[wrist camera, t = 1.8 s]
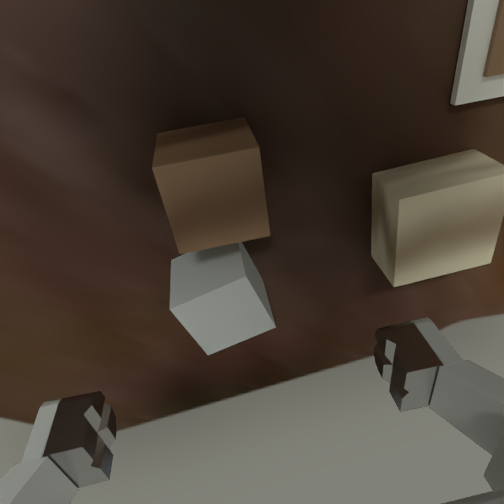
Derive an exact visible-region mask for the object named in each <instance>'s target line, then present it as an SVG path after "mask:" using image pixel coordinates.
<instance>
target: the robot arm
mask: <svg viewBox="0 0 504 504" xmlns="http://www.w3.org/2000/svg"><path fill="white" fill-rule="evenodd" d="M375 338H376V340H377V342H378V344H377V345H376V346H375V347H374V357H375V362H376V365H377V368H378V371H379V373H380V375H381V377H382V378H383V379H385V380H386V381H388V382H389V383H390V390H389V391H390V394H391V395H392V397H393V399H394V401H395V403H396V405H397V407H398V408H399V410H400V412H402V411H407V410H412V409H417V408H422V407H427V406H429V408H430V409H432V410H433V411H434V412H436V413H437V414H438V415H440V416H441V417H442V418H444V419H445V420H446V421H447V422H449V423H450V424H451V425H453V426H454V427H455V428H457V429H458V430H459V431H461V432H462V433H463V434H465V435H466V436H467V437H469V438H470V439H471V440H473V441H474V442H475V443H476V444H478V445H479V446H481V447H482V448H483V449H485V450H486V451H487V452H489V453H490V454H491V455H492V458H491V460H490V462H489V464H488V466H487V468H486V470H485V474H484V477H485V479H486V480H487V482H488V483H489V485H490V487H491V488H492V490H493V491H491V492H487V493H483V494H479V495H475V496H471V497H467V498H463V499H459V500H455V501H451V502H447V503H442V504H504V378H502V377H500V376H498V375H496V374H494V373H492V372H490V371H488V370H486V369H485V368H483V367H481V366H479V365H477V364H475V363H473V362H471V361H469V360H466V361H463V360H462V359H461V358H460V356H459V355H458V354H457V353H456V351H455V350H454V349H453V347H452V346H451V345H450V344H449V342H448V341H447V340H446V339H445V337H444V336H443V335H442V334H441V332H440V331H439V330H438V328H437V327H436V326H435V325H434V323H433V322H432V321H431V320H430V319H429V318H422V319H418V320H414V321H410V322H409V321H407V322H403V323H399V324H395V325H391V326H386V327H382V328H378V329H377V330H376V333H375ZM104 401H105V397H104V395H103V394H102V392H101V391H97V392H92V393H87V394H82V395H77V396H72V397H67V398H62V399H57V400H52V401H48V402H44V403H43V404H42V406H41V407H40V409H39V411H38V414H37V417H36V420H35V423H34V426H33V428H32V431H31V434H30V437H29V440H28V443H27V446H26V449H25V452H24V454H23V457H22V460H21V462H20V463H16V464H15V465H14V466H13V467H12V468H11V469H10V470H9V471H8V472H7V474H6V475H5V476H4V477H3V478H2V479H1V480H0V504H71V502H72V500H73V499H74V497H75V496H76V494H77V492H78V491H79V489H78V488H80V487H84V486H88V485H91V484H96V483H99V482H103V481H107V480H109V479H110V473H111V466H112V460H113V454H112V453H111V451H110V449H109V448H110V446H111V445H112V443H113V442H114V440H115V439H116V432H117V423H116V416H115V413H114V411H113V409H112V407H111V406H109V405H106V404H104Z"/></svg>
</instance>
